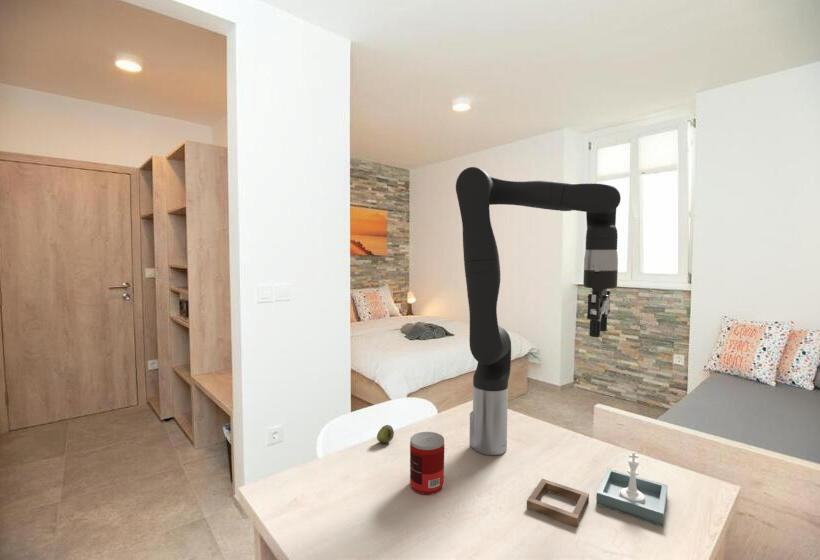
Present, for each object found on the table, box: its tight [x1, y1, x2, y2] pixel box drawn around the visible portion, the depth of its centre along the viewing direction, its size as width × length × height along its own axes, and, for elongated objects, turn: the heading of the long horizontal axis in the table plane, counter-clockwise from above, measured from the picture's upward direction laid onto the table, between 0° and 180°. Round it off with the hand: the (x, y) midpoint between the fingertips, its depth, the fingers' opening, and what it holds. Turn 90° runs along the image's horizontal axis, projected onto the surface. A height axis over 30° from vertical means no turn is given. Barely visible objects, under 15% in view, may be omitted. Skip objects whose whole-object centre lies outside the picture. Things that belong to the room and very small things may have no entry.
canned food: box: [409, 431, 445, 496], centre depth 93 cm, size 8×8×11 cm
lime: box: [376, 424, 395, 444], centre depth 114 cm, size 4×5×5 cm
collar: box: [526, 478, 590, 528], centre depth 86 cm, size 10×10×2 cm
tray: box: [595, 467, 669, 527], centre depth 87 cm, size 12×12×3 cm
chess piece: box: [619, 451, 645, 504], centre depth 87 cm, size 5×5×10 cm
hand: (598, 333), depth 101 cm, fingers open, 8 cm apart
